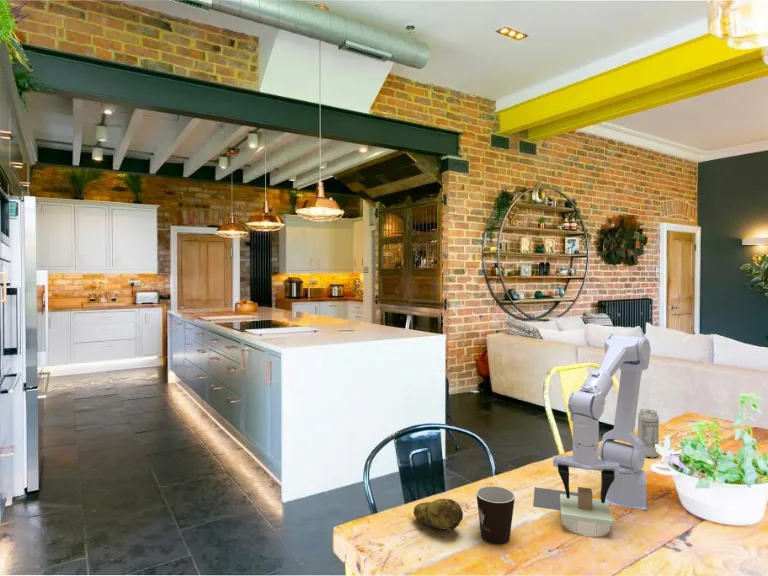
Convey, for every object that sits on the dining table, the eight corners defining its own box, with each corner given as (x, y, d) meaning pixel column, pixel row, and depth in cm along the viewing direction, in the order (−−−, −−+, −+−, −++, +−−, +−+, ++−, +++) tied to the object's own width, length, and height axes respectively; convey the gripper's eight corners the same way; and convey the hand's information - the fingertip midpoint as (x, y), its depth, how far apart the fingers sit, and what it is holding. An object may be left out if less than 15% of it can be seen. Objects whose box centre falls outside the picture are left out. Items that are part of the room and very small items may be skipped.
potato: (438, 513, 124) (438, 482, 123) (468, 538, 112) (468, 503, 112) (409, 520, 120) (409, 488, 120) (437, 546, 108) (437, 511, 108)
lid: (607, 504, 120) (607, 484, 120) (612, 526, 110) (613, 503, 110) (560, 498, 124) (560, 478, 124) (561, 519, 114) (561, 496, 113)
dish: (606, 519, 120) (606, 506, 120) (611, 541, 110) (611, 526, 110) (561, 513, 123) (561, 499, 123) (562, 533, 113) (562, 519, 113)
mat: (580, 494, 134) (580, 493, 134) (583, 514, 122) (583, 513, 122) (534, 488, 138) (534, 487, 138) (533, 507, 126) (533, 506, 126)
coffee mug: (515, 549, 107) (516, 504, 107) (475, 545, 109) (476, 501, 109) (512, 523, 118) (512, 482, 118) (476, 519, 120) (476, 479, 120)
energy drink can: (656, 453, 164) (657, 409, 164) (659, 460, 158) (660, 414, 158) (636, 451, 166) (637, 407, 166) (638, 457, 161) (639, 412, 160)
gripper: (553, 444, 115) (553, 501, 115) (621, 451, 110) (620, 511, 110) (553, 435, 121) (552, 489, 122) (617, 441, 117) (616, 497, 117)
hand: (585, 498), depth 117 cm, fingers open, 7 cm apart
